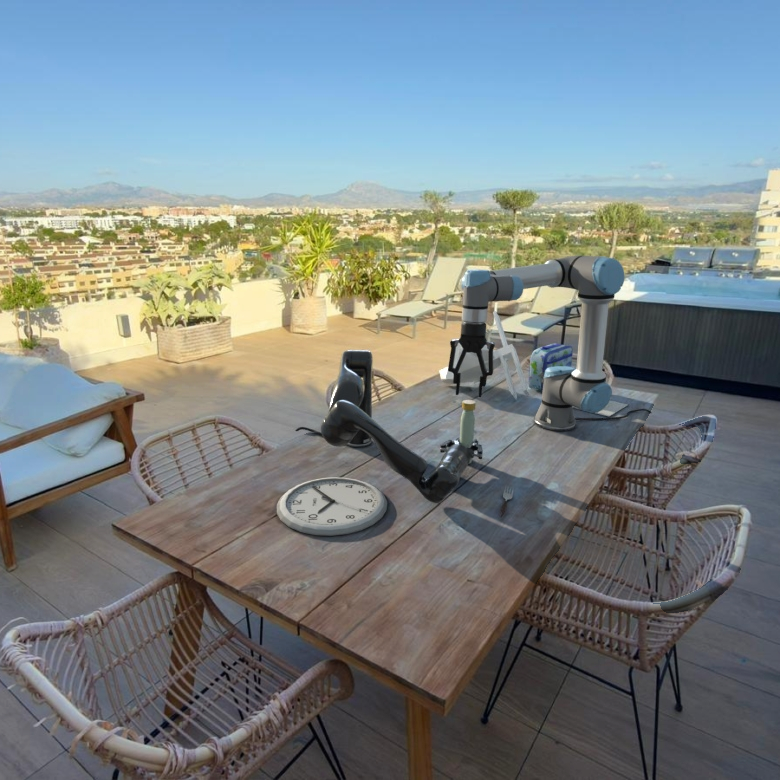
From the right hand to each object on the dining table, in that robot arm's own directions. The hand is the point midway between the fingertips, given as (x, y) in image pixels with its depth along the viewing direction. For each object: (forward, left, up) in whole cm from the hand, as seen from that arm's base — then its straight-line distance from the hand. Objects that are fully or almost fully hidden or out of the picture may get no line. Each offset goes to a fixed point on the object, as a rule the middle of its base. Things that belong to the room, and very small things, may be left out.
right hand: (468, 394), depth 164 cm
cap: (0, 0, -3) cm, 3 cm away
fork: (-11, +27, -23) cm, 37 cm away
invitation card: (-60, -65, -23) cm, 91 cm away
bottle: (0, 0, -23) cm, 23 cm away
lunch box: (-42, -90, -23) cm, 102 cm away
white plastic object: (-8, -77, -23) cm, 80 cm away
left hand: (-1, -3, -17) cm, 17 cm away
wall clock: (+36, +34, -23) cm, 55 cm away
